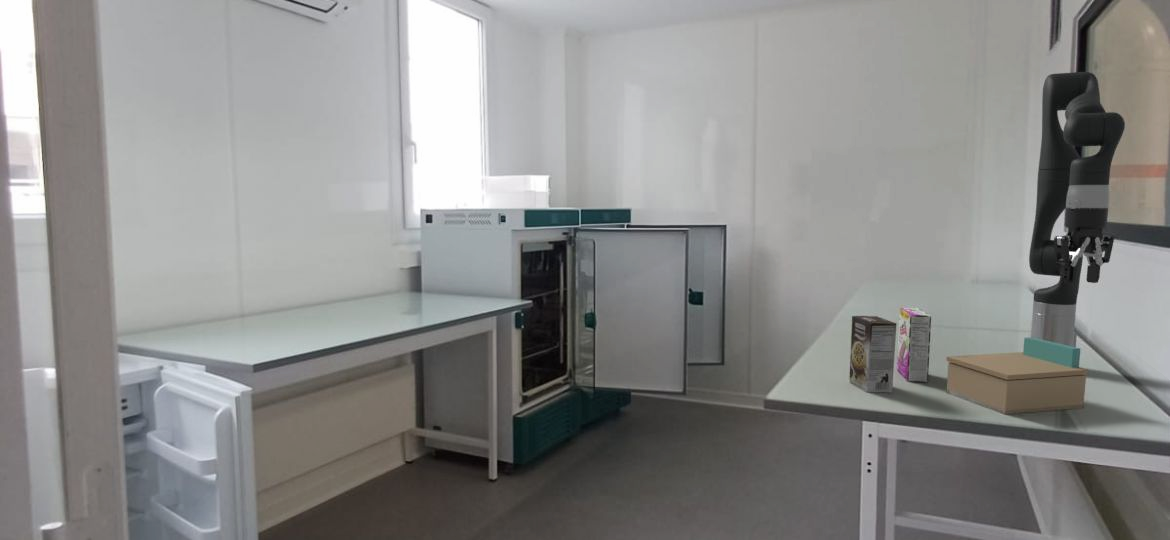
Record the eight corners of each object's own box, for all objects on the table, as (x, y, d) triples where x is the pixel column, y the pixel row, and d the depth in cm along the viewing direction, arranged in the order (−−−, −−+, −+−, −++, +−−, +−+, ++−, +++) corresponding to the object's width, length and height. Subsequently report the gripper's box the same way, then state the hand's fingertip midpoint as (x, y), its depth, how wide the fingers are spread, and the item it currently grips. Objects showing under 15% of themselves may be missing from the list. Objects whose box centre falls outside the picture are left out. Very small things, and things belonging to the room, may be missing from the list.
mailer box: (1019, 387, 160) (1021, 358, 159) (1083, 407, 144) (1086, 375, 144) (946, 392, 155) (948, 362, 154) (1004, 414, 140) (1007, 380, 139)
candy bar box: (895, 370, 175) (898, 307, 173) (916, 371, 174) (919, 307, 172) (906, 381, 164) (910, 314, 163) (928, 383, 163) (932, 315, 162)
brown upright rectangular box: (847, 381, 164) (850, 315, 162) (873, 381, 165) (876, 315, 163) (866, 392, 155) (870, 322, 153) (893, 392, 155) (897, 322, 154)
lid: (1021, 356, 159) (1023, 335, 159) (1088, 374, 143) (1090, 350, 143) (946, 360, 155) (947, 339, 154) (1007, 380, 139) (1009, 355, 138)
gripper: (1096, 206, 154) (1090, 280, 156) (1044, 205, 151) (1038, 281, 153) (1130, 206, 147) (1123, 284, 149) (1076, 206, 144) (1069, 285, 146)
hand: (1080, 282), depth 151 cm, fingers open, 5 cm apart
